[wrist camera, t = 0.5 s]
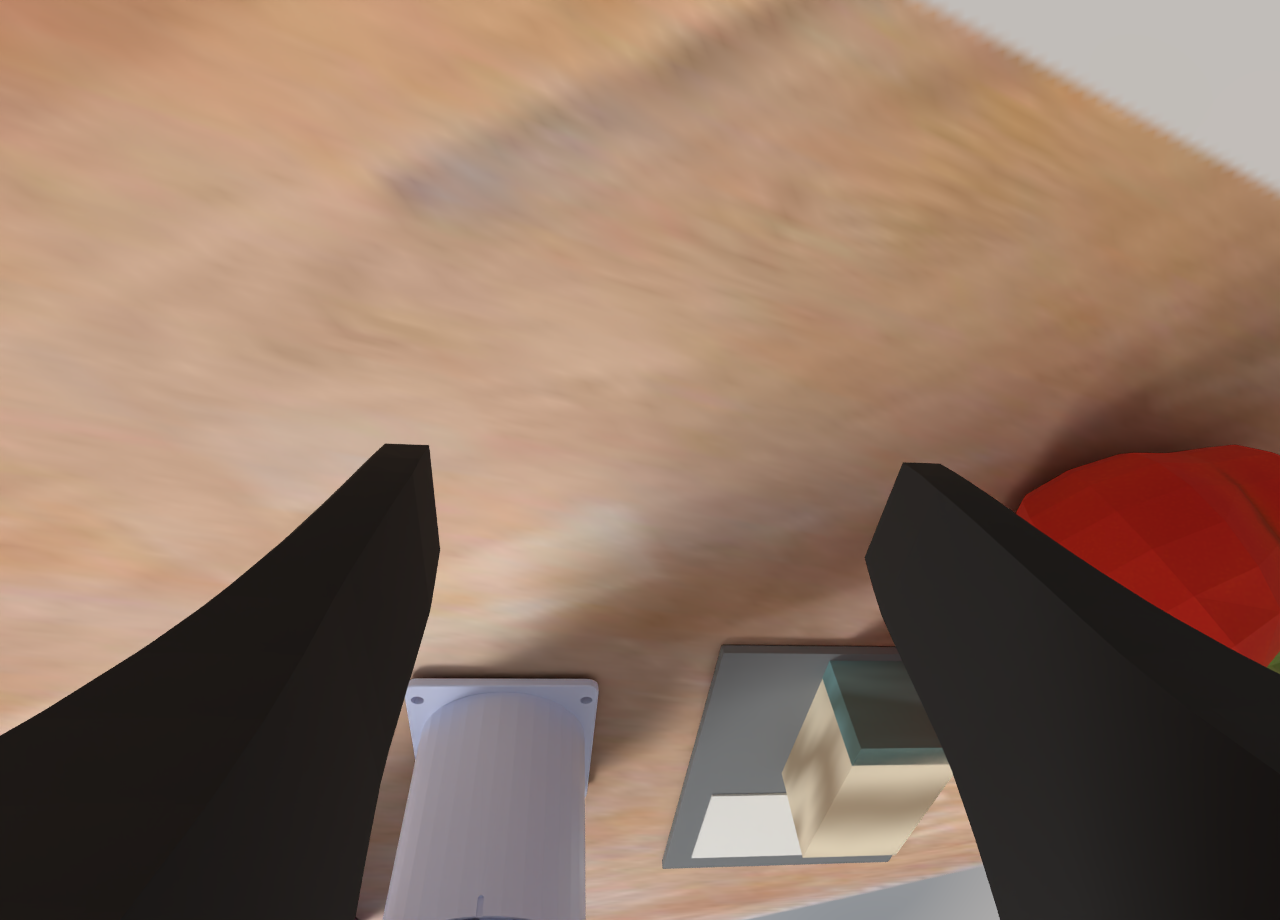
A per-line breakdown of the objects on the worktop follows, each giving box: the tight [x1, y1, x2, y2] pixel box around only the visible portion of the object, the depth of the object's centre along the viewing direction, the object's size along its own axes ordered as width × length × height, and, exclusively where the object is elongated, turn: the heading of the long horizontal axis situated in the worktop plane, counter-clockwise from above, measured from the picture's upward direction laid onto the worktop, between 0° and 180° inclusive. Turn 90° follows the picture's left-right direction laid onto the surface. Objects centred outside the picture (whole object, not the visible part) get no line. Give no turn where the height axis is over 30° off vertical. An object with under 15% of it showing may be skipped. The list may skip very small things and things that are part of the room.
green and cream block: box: [782, 661, 953, 858], centre depth 30 cm, size 9×5×4 cm, turn 174°
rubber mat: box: [662, 645, 902, 869], centre depth 35 cm, size 20×14×1 cm
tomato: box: [1016, 445, 1280, 674], centre depth 22 cm, size 13×12×8 cm
